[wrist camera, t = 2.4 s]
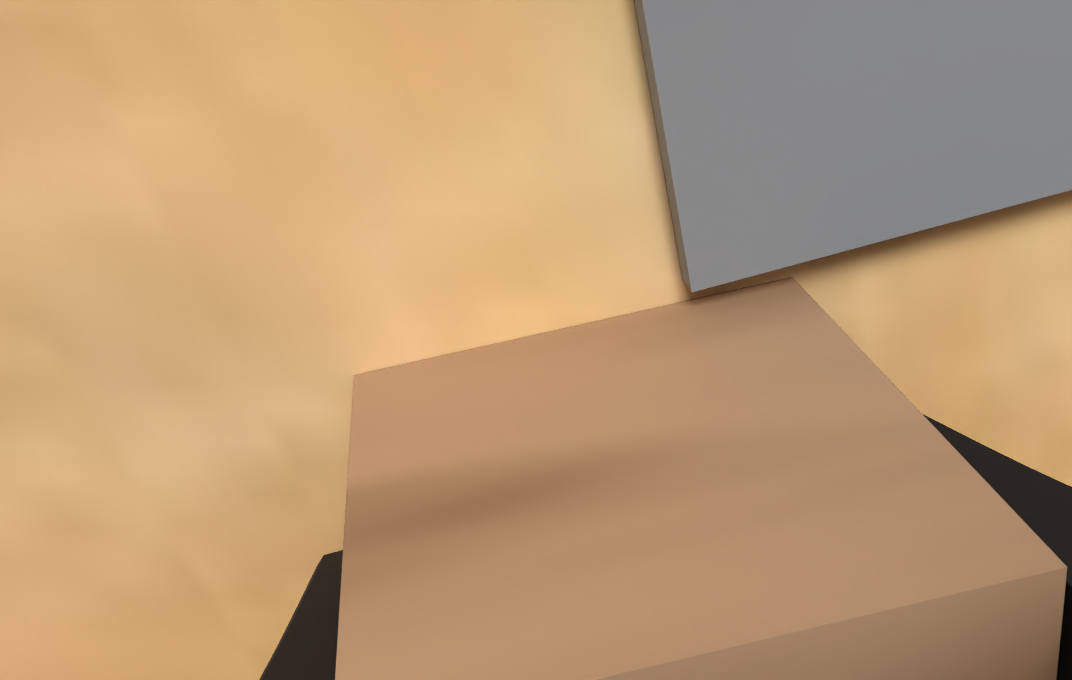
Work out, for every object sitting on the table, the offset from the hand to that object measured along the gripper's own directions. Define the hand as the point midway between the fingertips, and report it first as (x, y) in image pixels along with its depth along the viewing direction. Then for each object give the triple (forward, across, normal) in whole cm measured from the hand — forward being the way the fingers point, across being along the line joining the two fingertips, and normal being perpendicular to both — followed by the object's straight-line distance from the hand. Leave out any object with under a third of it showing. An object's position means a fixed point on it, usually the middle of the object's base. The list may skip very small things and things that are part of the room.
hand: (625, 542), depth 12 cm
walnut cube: (+1, 0, 0) cm, 1 cm away
